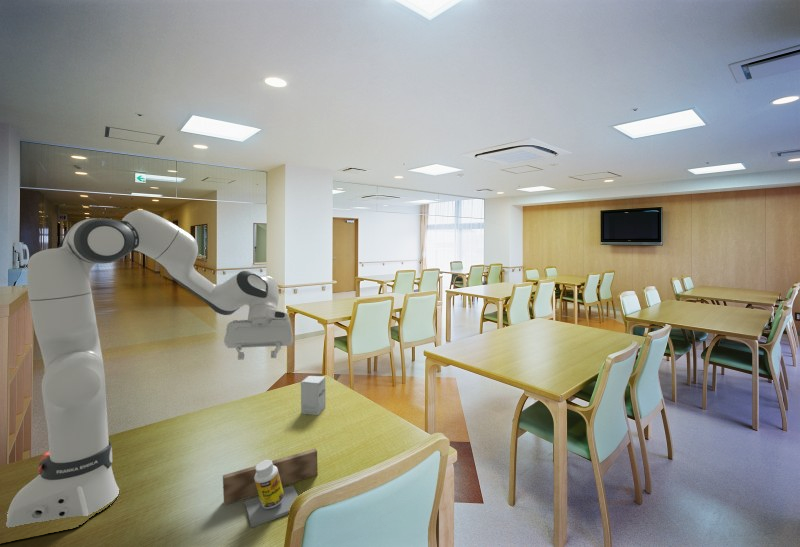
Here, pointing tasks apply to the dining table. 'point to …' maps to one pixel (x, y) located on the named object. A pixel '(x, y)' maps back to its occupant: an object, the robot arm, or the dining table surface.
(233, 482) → the walnut screen
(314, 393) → the supplement box
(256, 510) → the grey mat
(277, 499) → the supplement bottle
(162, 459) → the dining table surface
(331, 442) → the dining table surface
